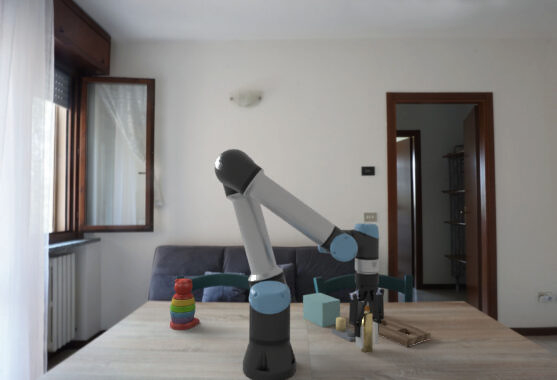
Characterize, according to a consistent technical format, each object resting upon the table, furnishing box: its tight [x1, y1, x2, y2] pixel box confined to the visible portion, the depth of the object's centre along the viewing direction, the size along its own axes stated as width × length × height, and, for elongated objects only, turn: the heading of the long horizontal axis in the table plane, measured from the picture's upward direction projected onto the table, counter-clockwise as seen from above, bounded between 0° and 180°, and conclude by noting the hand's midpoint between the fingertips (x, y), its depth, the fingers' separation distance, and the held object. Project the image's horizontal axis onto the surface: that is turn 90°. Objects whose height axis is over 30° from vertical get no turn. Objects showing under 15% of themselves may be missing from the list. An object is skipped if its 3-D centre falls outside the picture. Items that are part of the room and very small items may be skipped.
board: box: [378, 315, 432, 347], centre depth 128 cm, size 12×20×2 cm, turn 31°
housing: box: [302, 292, 341, 328], centre depth 143 cm, size 9×13×9 cm
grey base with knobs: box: [331, 316, 356, 342], centre depth 127 cm, size 6×10×5 cm, turn 31°
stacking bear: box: [169, 278, 201, 331], centre depth 136 cm, size 11×10×18 cm
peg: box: [360, 311, 374, 353], centre depth 114 cm, size 4×4×12 cm
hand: (366, 344), depth 114 cm, fingers open, 6 cm apart
